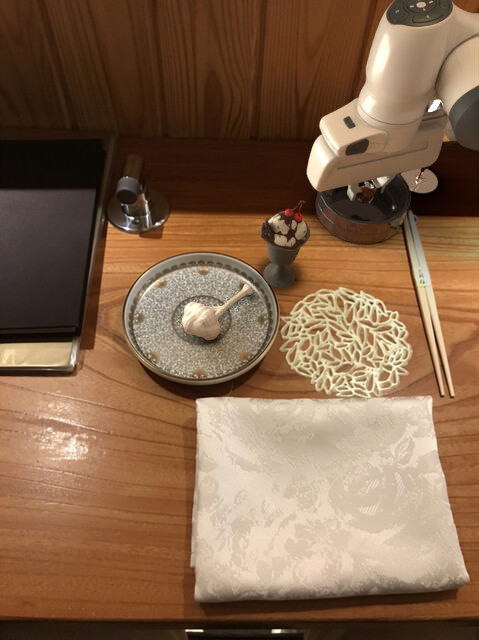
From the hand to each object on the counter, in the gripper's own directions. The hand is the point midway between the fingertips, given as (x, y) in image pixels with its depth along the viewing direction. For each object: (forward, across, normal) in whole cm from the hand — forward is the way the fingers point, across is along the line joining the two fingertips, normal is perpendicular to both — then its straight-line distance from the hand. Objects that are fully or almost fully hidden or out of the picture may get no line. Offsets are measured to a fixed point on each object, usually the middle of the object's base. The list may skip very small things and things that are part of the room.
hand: (364, 194), depth 88 cm
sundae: (+4, +17, +8) cm, 19 cm away
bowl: (+4, 0, 0) cm, 4 cm away
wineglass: (+4, -13, -4) cm, 14 cm away
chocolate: (+2, 0, 0) cm, 2 cm away
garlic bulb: (+4, +28, +12) cm, 31 cm away
